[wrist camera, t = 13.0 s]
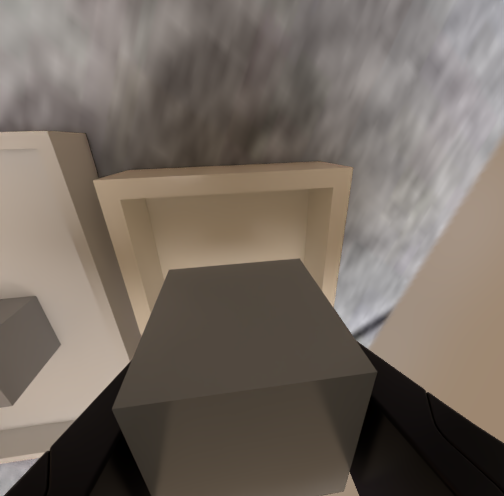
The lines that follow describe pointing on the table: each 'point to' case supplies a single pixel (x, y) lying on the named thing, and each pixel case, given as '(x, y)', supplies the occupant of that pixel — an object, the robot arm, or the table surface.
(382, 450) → the robot arm
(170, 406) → the slate cube
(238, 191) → the cream storage tray
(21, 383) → the middle slate cube
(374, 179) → the table surface
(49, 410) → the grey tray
